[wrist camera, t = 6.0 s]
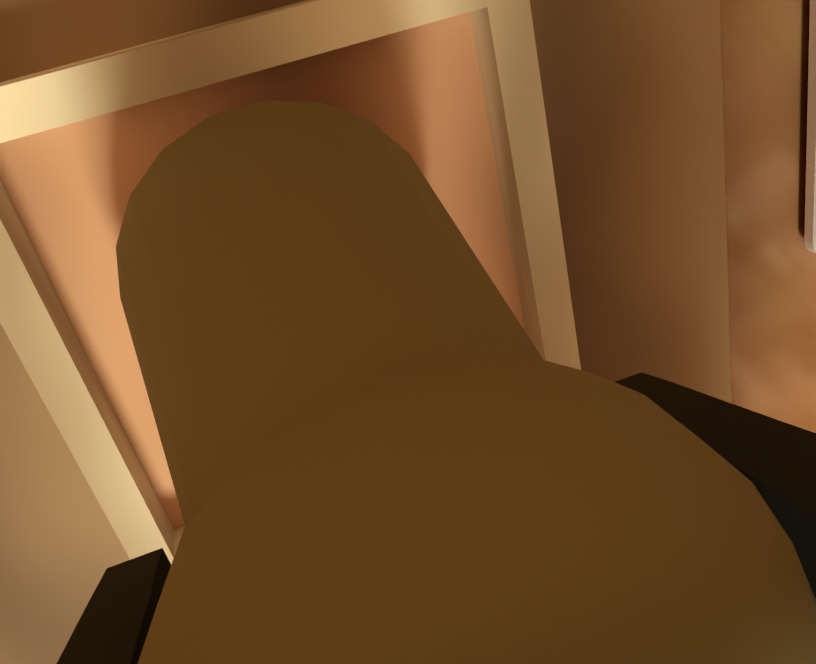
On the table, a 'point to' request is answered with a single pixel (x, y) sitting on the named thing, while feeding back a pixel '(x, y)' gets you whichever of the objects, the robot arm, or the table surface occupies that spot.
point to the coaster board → (410, 128)
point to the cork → (409, 436)
